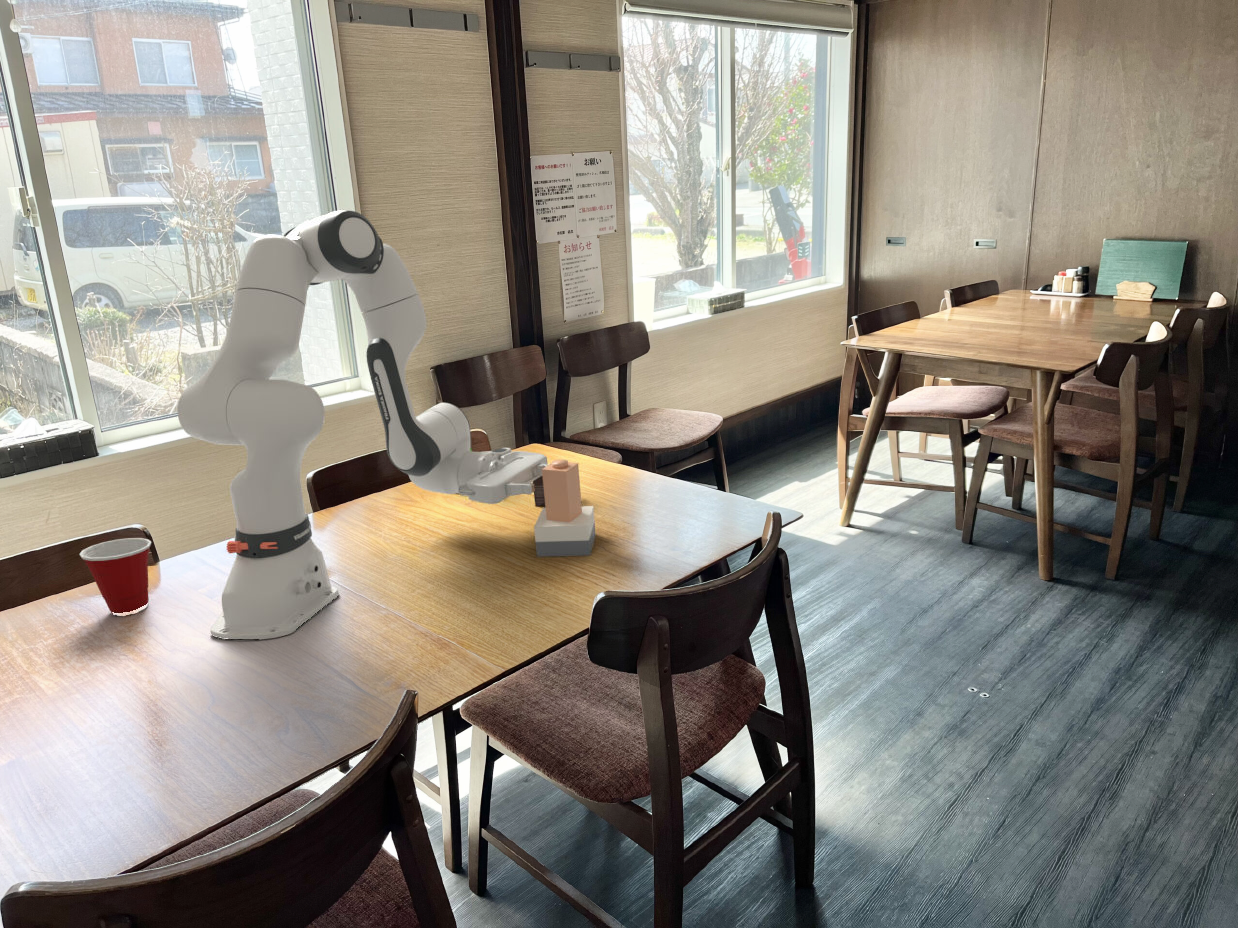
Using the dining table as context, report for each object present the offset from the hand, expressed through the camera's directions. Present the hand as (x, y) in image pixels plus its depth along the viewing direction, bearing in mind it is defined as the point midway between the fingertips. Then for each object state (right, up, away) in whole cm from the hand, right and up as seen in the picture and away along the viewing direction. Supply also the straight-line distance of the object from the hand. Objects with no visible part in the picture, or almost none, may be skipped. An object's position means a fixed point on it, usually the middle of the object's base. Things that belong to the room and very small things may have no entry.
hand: (545, 480), depth 169 cm
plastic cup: (-71, -22, -12) cm, 76 cm away
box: (-1, -5, +27) cm, 28 cm away
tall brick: (+4, -7, +1) cm, 8 cm away
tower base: (+4, -12, +3) cm, 13 cm away
